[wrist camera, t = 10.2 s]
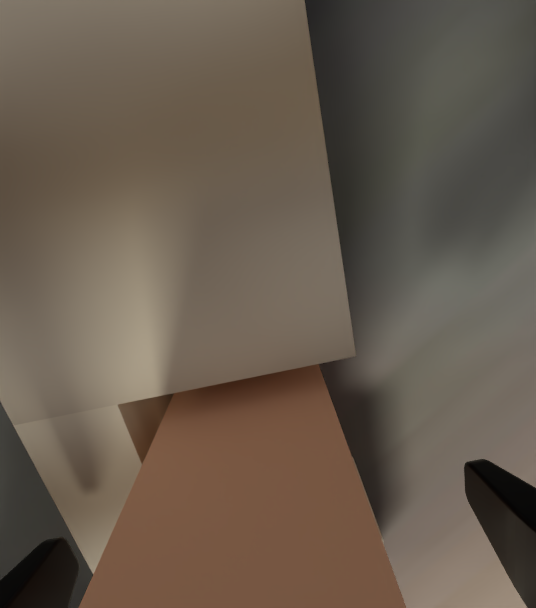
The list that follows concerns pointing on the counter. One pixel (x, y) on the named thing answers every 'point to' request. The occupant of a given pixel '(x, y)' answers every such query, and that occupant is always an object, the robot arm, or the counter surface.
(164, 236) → the notched board
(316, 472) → the tab block
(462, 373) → the counter surface
